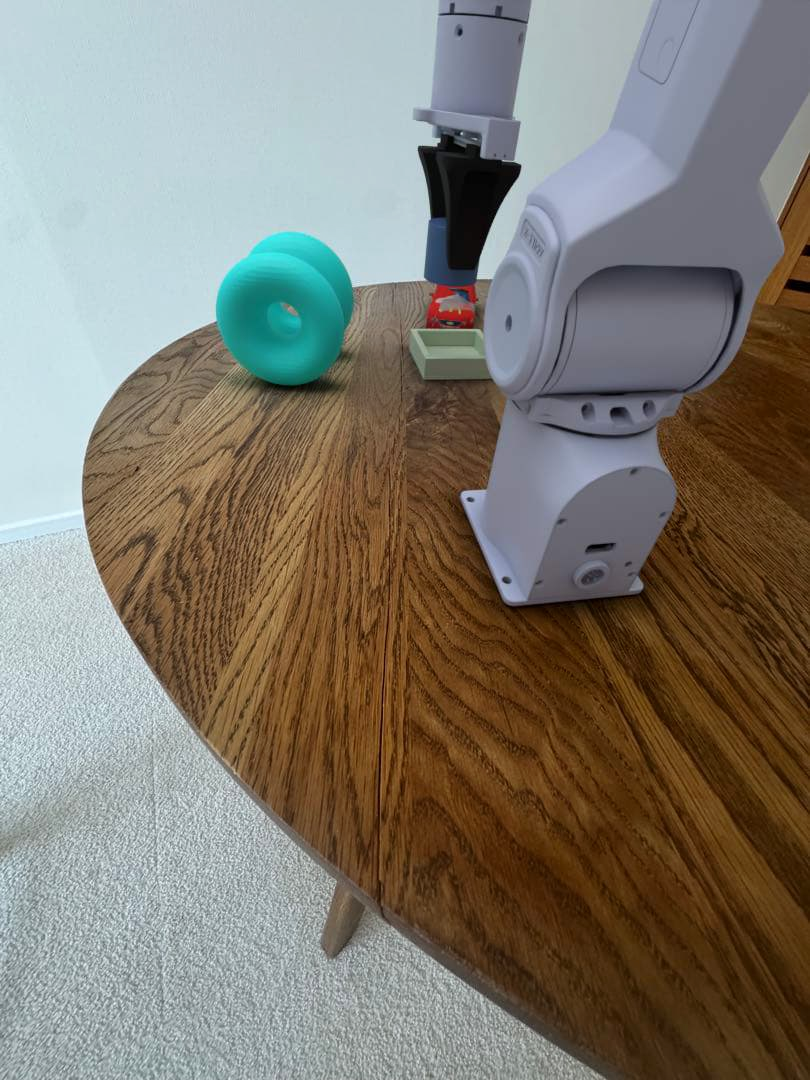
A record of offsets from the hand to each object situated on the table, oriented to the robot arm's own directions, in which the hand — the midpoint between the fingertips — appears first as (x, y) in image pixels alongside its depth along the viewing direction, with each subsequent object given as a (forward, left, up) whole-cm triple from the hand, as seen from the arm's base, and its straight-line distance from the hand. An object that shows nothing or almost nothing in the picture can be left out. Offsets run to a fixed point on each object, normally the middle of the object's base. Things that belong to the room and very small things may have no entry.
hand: (453, 260), depth 41 cm
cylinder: (0, 0, -1) cm, 1 cm away
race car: (+14, -5, -10) cm, 17 cm away
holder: (+2, -2, -9) cm, 10 cm away
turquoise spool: (+1, +13, -10) cm, 17 cm away
